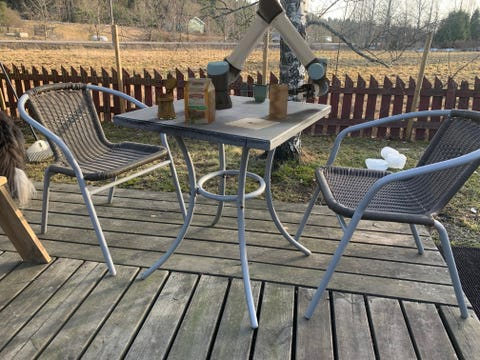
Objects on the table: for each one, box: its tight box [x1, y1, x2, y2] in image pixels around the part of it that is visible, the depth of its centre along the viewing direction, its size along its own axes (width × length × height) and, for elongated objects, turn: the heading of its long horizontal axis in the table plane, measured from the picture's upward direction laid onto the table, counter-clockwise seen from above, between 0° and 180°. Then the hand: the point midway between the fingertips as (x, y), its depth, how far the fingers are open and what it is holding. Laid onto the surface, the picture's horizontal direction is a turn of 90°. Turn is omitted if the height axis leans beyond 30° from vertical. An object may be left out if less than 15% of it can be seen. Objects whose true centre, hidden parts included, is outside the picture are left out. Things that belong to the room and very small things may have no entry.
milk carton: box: [183, 77, 216, 125], centre depth 163 cm, size 10×11×19 cm
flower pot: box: [252, 84, 270, 102], centre depth 222 cm, size 9×9×9 cm
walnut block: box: [268, 83, 289, 120], centre depth 172 cm, size 6×6×15 cm
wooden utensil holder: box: [156, 76, 178, 119], centre depth 173 cm, size 9×14×18 cm, turn 162°
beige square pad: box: [224, 117, 281, 131], centre depth 164 cm, size 18×18×1 cm
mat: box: [260, 115, 297, 123], centre depth 175 cm, size 12×12×1 cm
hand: (285, 95), depth 175 cm, fingers open, 13 cm apart
